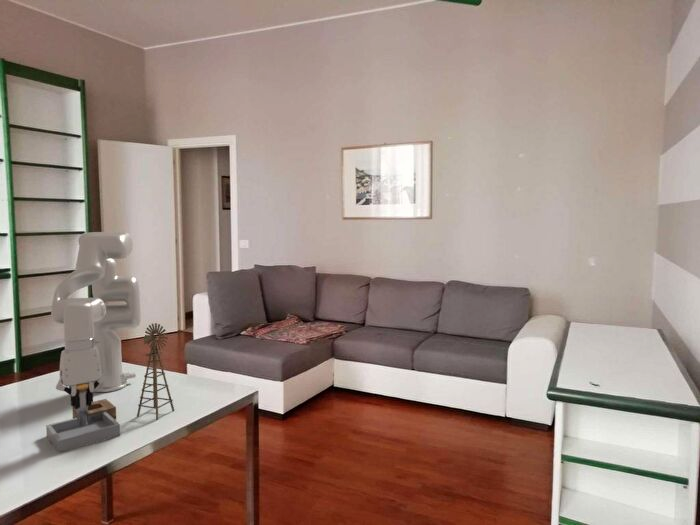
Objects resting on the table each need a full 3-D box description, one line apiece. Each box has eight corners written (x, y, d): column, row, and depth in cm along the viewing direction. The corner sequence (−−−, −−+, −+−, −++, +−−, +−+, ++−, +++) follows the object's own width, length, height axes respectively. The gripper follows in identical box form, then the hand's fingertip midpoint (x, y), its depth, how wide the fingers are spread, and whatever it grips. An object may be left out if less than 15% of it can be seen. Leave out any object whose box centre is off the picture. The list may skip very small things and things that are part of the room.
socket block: (106, 410, 161) (105, 398, 161) (116, 419, 154) (115, 407, 153) (72, 418, 154) (72, 406, 154) (81, 428, 147) (81, 415, 147)
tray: (105, 421, 152) (104, 410, 152) (120, 435, 142) (119, 424, 142) (46, 436, 141) (46, 425, 141) (58, 452, 131) (57, 441, 131)
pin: (88, 420, 144) (87, 379, 143) (93, 424, 141) (91, 383, 140) (73, 424, 141) (71, 382, 141) (77, 428, 138) (75, 386, 137)
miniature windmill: (175, 410, 161) (173, 322, 158) (158, 420, 153) (155, 327, 150) (153, 407, 164) (151, 320, 161) (135, 416, 156) (132, 325, 153)
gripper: (105, 338, 148) (107, 396, 149) (44, 347, 137) (47, 410, 138) (113, 342, 142) (115, 402, 144) (50, 352, 131) (53, 417, 133)
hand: (82, 405), depth 141 cm, fingers closed on pin, 2 cm apart
